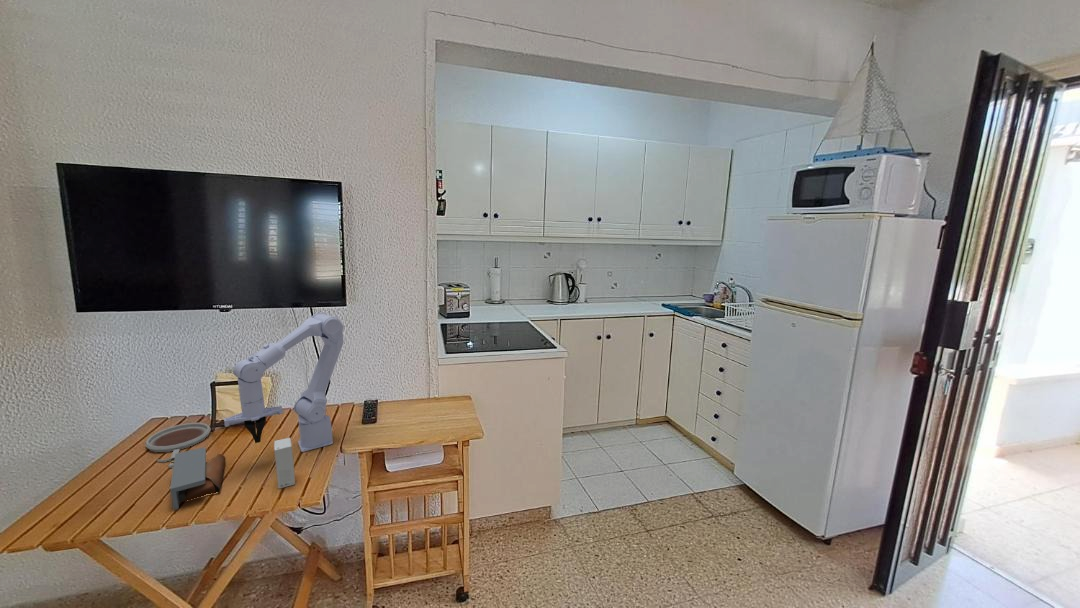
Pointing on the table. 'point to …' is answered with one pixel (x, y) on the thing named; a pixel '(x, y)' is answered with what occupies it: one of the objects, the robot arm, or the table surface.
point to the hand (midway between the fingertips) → (257, 441)
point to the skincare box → (284, 462)
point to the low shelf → (187, 473)
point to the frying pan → (177, 439)
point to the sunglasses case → (209, 479)
